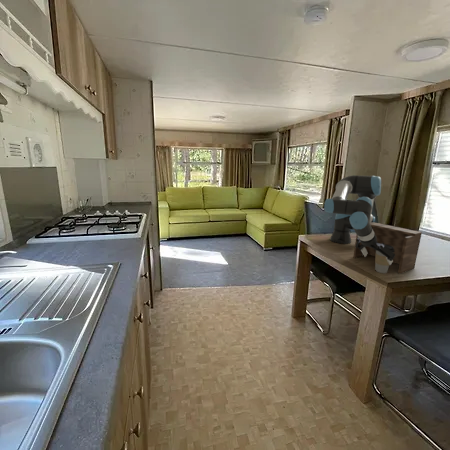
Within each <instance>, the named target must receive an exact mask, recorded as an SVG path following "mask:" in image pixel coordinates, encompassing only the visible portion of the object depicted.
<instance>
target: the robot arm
mask: <svg viewBox="0 0 450 450" xmlns="http://www.w3.org/2000/svg"><path fill="white" fill-rule="evenodd" d="M381 191H382V178H381V176H379V175H378V176H376V175H348V176H345V177H343V178H341V179H340V180H339V181H338V182H337V183H336V184H335V191H334V193H333V195H332V197H331V198H326V199H325V201H324V207H323V208H324V212H325V213H329V214H335V218H334V225H333V232H332V233H331V236H330V237H329V238H330V241H331V242H333V243H336V242H337V243H336V244H341V243H343V245H348V243H349V244H351V243H352V238H351V230H354V233H356V235H357V236H358V238H357V240H356V239H355V242H356V241H357V243H356V246H355V245H354V248H355V247H356V248H359V249H360V251H361V252H362V253H363V255H364V258H366V257H367V256H368V255H369V254H368V252H367V250H366V248H365V247H366V246H368V247H370V248H373V249H374V250H376V251H379V252H380V253H382V254H383V255H384V256H386V259H387V261H388V263H389V266H392V263H394V262H393V258H394V257H395V254H394V253H393V252H392V251H391V250H390V249H389V248H388V247H386V245H385V244H384V243H382V244H379V243H378V242H377V237H376V235H375V233H374V231H373V229H372V227H371V225H370V222H375V221H376V217H375V216H374V215H373V214H372V212H373V207H374V201H375V199H376V198H377V197H378V196H380V195H381ZM350 194H353V195H357V197H358V198H357V199H356V200H352V199H351V200H350V199H348V197H349V195H350ZM375 223H376V222H375ZM360 242H361V243H362V244H361V245H360ZM377 246H378V247H377ZM376 247H377V248H376ZM367 254H368V255H367Z"/></svg>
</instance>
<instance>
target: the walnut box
mask: <svg viewBox="0 0 450 450" xmlns="http://www.w3.org/2000/svg"><path fill="white" fill-rule="evenodd" d="M370 225H371V227H372V229H373V231H374V233H375V235H376V237H377V242H378V243H379V244H382V243H384V244H385V245H390V246H392V247H394V250H395V252H393V253H394V254H395V257H394V258H393V262H392V263H394V264H397V265H398V270H397V274H403V273H406V272H409V271H411V270H414V269H415V267H416V266H415V265H416V261H417V256H418V253H419V247H420V244H421V238H422V234H423V232H422V231H418V230H412V229H408V228H403V227H399V226H394V225H388V224H383V223H379V222H370ZM357 238H358V236H357V234H356V236H355V242H354V248H353V249H354V251H353V255H352V257H354V258H353V259H356V257H357V258H360V257H363V253H362V252H361V251H360V249H359V248H356V247H355V246H356V243H357V241H356V240H357ZM361 244H362V243H361V242H360V245H361ZM365 248H366V250H367V252H368V255H370V256H372V257H375V256H376V250H374V249H373V248H370V247H368V246H366V247H365Z"/></svg>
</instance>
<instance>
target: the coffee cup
mask: <svg viewBox="0 0 450 450" xmlns="http://www.w3.org/2000/svg"><path fill="white" fill-rule="evenodd" d="M377 247H378V246H377ZM377 247H376V248H377ZM386 247H388V248H389V249H390V250H391V251H392V252H395V250H394V247H392V246H390V245H386ZM374 257H375V258H374V259H375V260H374V261H375V263H374V265H375V267H374V270H376V272H378V273H380V274H388V271H389V267H390V265H389V263H388V261H387V259H386V256H384V255H383V254H382V253H380V252H379V251H376V256H374Z"/></svg>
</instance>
